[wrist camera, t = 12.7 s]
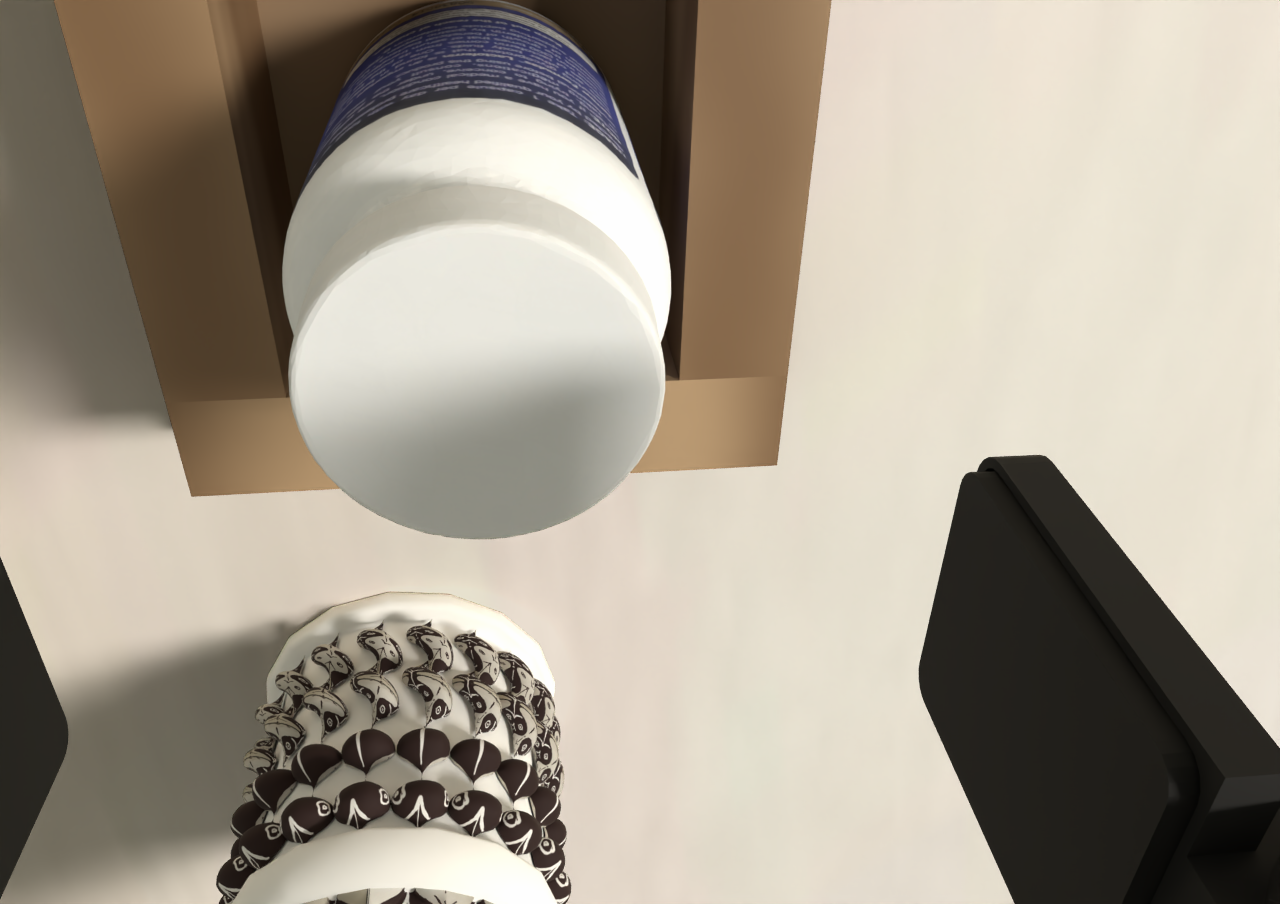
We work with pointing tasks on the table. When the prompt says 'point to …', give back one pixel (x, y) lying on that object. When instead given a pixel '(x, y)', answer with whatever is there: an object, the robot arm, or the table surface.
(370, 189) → the pill bottle
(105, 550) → the table surface
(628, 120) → the brown wooden open box
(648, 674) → the table surface
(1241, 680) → the table surface
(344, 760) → the black white patterned cylinder
